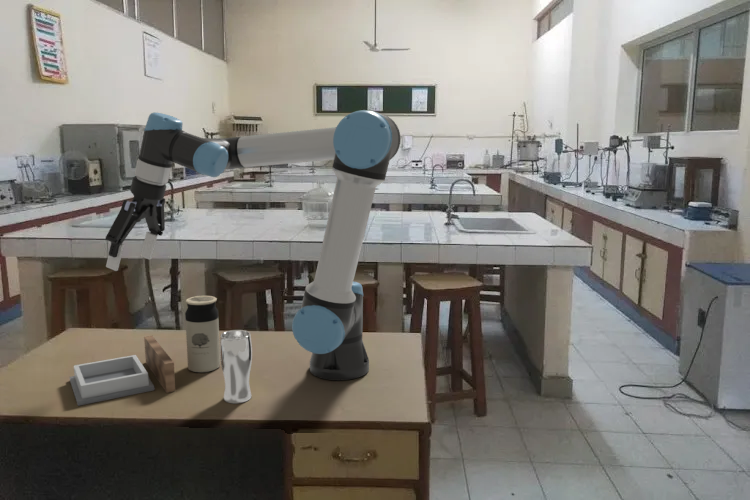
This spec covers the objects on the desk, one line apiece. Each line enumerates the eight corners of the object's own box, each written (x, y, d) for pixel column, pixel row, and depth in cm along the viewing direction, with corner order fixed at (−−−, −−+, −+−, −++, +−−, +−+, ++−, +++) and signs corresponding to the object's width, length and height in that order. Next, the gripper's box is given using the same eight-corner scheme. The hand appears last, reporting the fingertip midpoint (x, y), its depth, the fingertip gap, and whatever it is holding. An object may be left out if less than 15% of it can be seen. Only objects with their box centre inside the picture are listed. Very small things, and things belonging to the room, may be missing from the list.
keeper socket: (154, 390, 137) (153, 373, 136) (77, 405, 128) (76, 388, 127) (140, 367, 150) (139, 352, 149) (69, 380, 141) (68, 364, 141)
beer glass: (233, 389, 138) (231, 327, 135) (259, 394, 135) (257, 331, 132) (215, 401, 131) (212, 337, 128) (241, 406, 129) (239, 341, 126)
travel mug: (196, 360, 155) (193, 294, 152) (225, 362, 154) (222, 296, 151) (182, 372, 148) (178, 302, 144) (212, 374, 146) (209, 304, 143)
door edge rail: (175, 390, 136) (173, 362, 135) (166, 392, 135) (164, 364, 134) (153, 361, 155) (152, 335, 153) (145, 362, 153) (144, 336, 152)
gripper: (165, 171, 150) (145, 248, 155) (101, 177, 126) (80, 267, 131) (191, 182, 149) (170, 258, 154) (132, 189, 125) (110, 280, 130)
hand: (129, 263), depth 142 cm, fingers open, 13 cm apart
